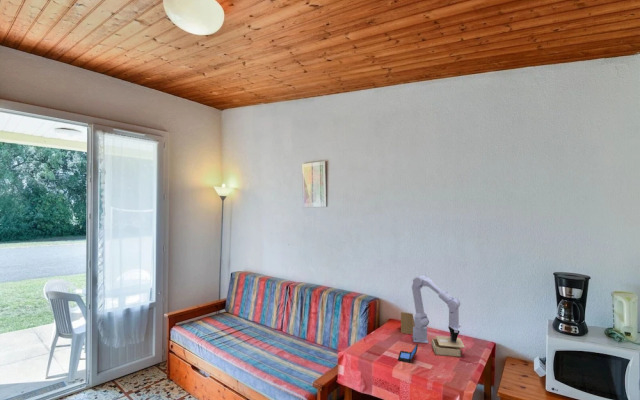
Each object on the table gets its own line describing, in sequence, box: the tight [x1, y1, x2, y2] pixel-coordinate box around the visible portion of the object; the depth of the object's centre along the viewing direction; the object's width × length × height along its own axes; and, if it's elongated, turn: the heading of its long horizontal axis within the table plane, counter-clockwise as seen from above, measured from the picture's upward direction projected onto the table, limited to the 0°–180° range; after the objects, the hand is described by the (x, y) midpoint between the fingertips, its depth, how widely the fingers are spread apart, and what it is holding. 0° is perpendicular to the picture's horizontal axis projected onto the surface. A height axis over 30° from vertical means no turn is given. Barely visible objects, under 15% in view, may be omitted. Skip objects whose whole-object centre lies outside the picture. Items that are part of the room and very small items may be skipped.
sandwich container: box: [400, 311, 416, 335], centre depth 237 cm, size 9×15×15 cm, turn 154°
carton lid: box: [435, 334, 466, 349], centre depth 202 cm, size 15×14×4 cm
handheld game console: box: [397, 343, 419, 364], centre depth 193 cm, size 12×11×7 cm
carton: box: [431, 337, 462, 358], centre depth 202 cm, size 15×14×4 cm
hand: (453, 339), depth 201 cm, fingers closed on carton lid, 3 cm apart
